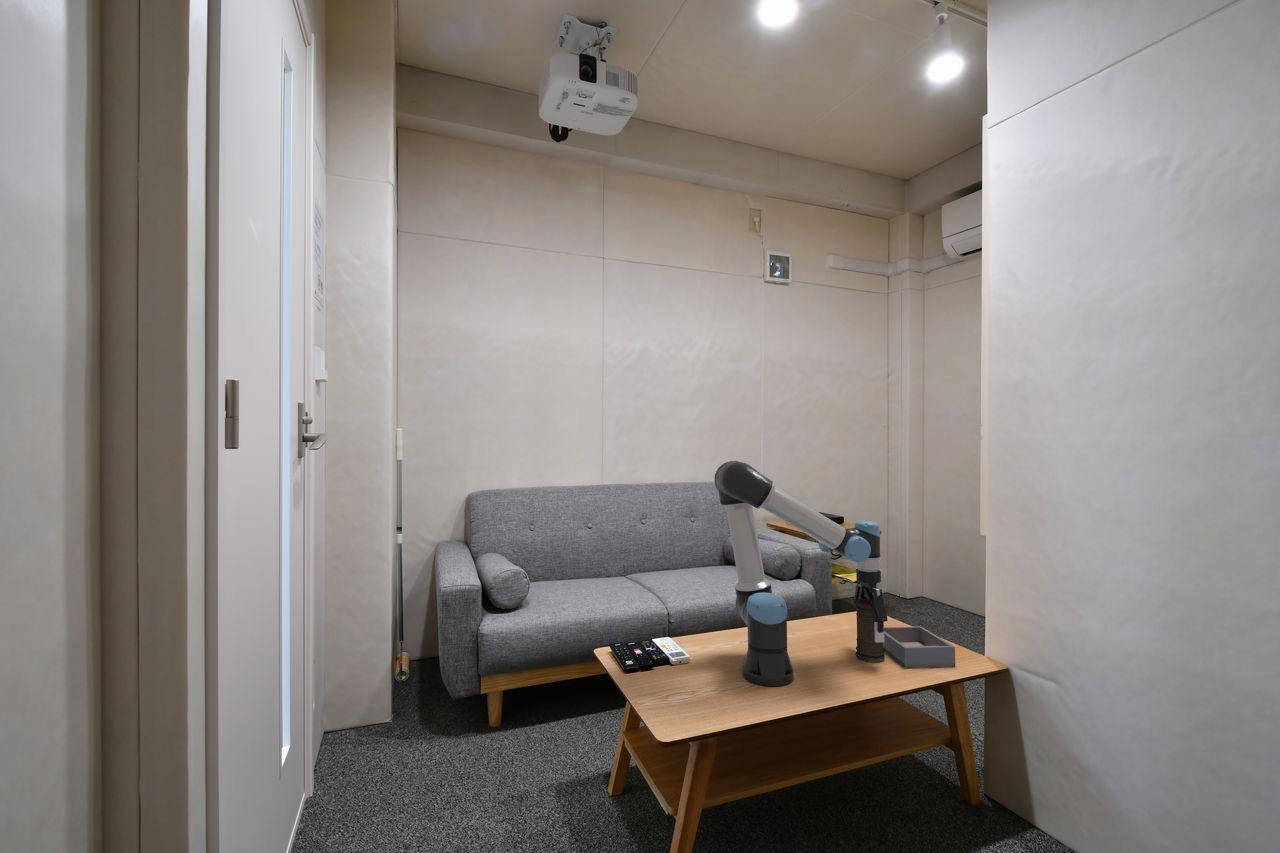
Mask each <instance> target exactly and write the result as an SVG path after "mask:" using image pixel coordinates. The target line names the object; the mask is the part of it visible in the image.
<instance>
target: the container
mask: <svg viewBox="0 0 1280 853" xmlns="http://www.w3.org/2000/svg"><path fill="white" fill-rule="evenodd" d="M854 605H857V606H855V608H856V612H855V613H856V614H855V615H856V646H855V656H856V658H858V659H860V660H861V661H864V662H868V663H881V662H884V660H885V658H886V656H885V654H884V653H885V651H884V650H883V642H875V629H874V620H875V616H874V613H873V610H872V607H871V604H870V602H869V601H868V599H857V600H856V601H855V604H854Z"/></svg>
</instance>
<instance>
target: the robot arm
mask: <svg viewBox="0 0 1280 853" xmlns="http://www.w3.org/2000/svg"><path fill="white" fill-rule="evenodd" d="M714 486H715V488H716V489H717V491H718V497H719V502H720V506H721V507H722V508H724V509H725V510H726V516H727V522H728V523H727V524H728V527H729V534H730V538H731V545H732V551H733V556H734V563H735V568H736V574H737V579H738V580H737V581H738V582H737V583H736V584H735V586H734V590H735V595H736V596H735V598H736V599H735V608H736V611H737V614H738V616H739V617H740V618H741V620H743V622H744V623H745V625H746V628H747V651H746V653H745V657H744V659H743V663H742V667H741V669H742V673H741V675H742V676H743V679H745V680H746V681H748V682H750V683H753V684H755V685H758V686H759V685H760V686H765V687H766V686H767V687H779V686H780V687H781V686H785V685H788V684H790V683H792V682H793V681H794V679H795V673H794V672H795V671H794V668H793V664H792V662H791V657H790V655H789V652H788V608H787V603H786V601H785V599H784V598H783V597H782V596H781V595H777V594H775V593H773V589H772V583H771V581H770V580H768V579H767V578H766V575H765V570H764V566H763V559H762V558H763V557H762V554H761V553H762V552H761V548H760V542H759V535H758V531H757V524H756V519H755V514H754V508H756V509H761V508H762V509H763V510H765V511H767V512H768V513H770V514H772V515H773V516H776V517H777V518H779V519H780V520H782V521H784V522H785V523H787V524H789V525H791V526H793V527H794V528H796V529H797V530H799V531H800V532H802V533H804V534H806V535H807V536H809V537H811V538H812V539H814V540H816V541H817V543H818V547H819V550H820V551H822V552H823V553H837V554H838V555H839V556H840V555H841V556H843V558H847V559H848V560H849V561H851V562H854V563H855V568H856V571H855V575H856V576H855V577H856V578H855V579H856V587H855V592H854V596H853V601H852V603H853V605H855V607H856V606H857V605H856V604H855V601H856V600H857V599H868V601H869V602H870V604H871V607H872V610H873V613H874V616H875V620H874V629H875V642H884V627H885V622H888V621H889V620H888V616H887V615H888V614H887V610H886V607H885V602H884V597H883V590H882V588H877V587H878V586H877V584H880V583H881V582H882V571H881V568H882V567H881V562H882V559H881V530H880V525H879V523H878V522H875V521H870V520H860V521H859V520H858V521H856V522H855V523H854V527H852V528H845V527H843V525H840V524H838V522H835V521H834V520H832V519H830V518H828V517H827V516H825V515H824V514H822V513H820V512H818V511H816V510H815V509H813V508H812V507H810V506H808V505H807V504H805V503H804V502H801V501H800V500H799V499H797V498H796V497H793V496H792V495H790V494H788V493H786V492H785V491H784V490H782V489H780V488H778V487H776V486H775V483H774V481H773V480H771V479H769V478H768V477H767V476H765V475H763V474H762V473H760V471H758V470H757V469H756V468H754V467H753V466H751V465H750V464H749V463H746V462H742V461H738V460H729V461H726V462H723V463H722V464H721V465H719V467H718V468H717V470H716V471H715V474H714Z"/></svg>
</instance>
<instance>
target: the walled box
mask: <svg viewBox="0 0 1280 853" xmlns="http://www.w3.org/2000/svg"><path fill="white" fill-rule="evenodd" d="M883 650H884V653H886V654H887V655H888V656H889V657H890V658H892V659H894V660H895V661H896V662H898V664H900V665H901V666H903V667H904V668H938V667H939V668H940V667H941V668H942V667H944V668H946V667H947V666H951V667H956V647H955V646H954V645H952V644H951V643H950V642H948V641H946V640H945V639H943V638H942V637H940V636H938V635H936V634H935V633H933V632H931V631H930V630H928V629H926V628H924V627H923V626H884V642H883ZM947 668H948V667H947Z"/></svg>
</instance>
